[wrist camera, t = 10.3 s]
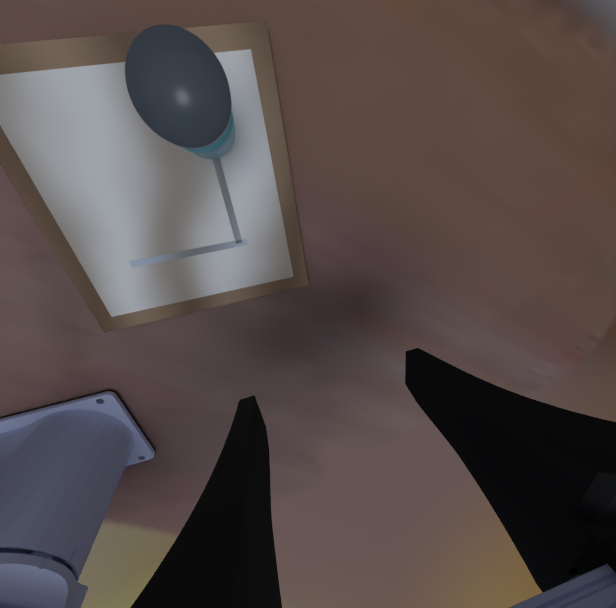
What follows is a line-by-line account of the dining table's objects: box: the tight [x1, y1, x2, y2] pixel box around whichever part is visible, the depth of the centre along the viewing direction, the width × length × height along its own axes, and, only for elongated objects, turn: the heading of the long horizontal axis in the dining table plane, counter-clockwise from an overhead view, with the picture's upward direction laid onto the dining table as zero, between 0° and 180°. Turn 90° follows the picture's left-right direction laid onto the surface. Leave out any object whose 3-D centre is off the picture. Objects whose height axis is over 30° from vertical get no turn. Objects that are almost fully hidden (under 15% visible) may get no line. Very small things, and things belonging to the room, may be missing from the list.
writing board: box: [0, 21, 309, 332], centre depth 15 cm, size 14×14×1 cm
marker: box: [125, 25, 235, 159], centre depth 11 cm, size 3×3×6 cm
